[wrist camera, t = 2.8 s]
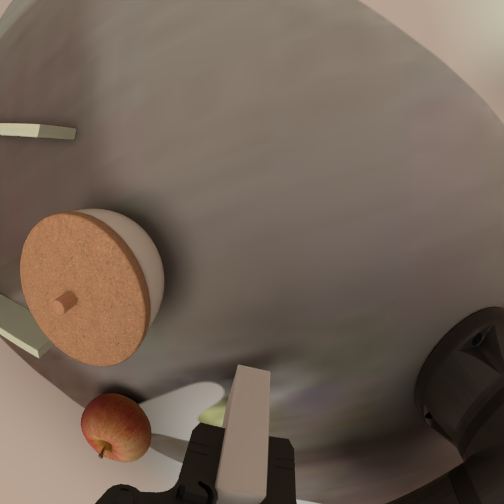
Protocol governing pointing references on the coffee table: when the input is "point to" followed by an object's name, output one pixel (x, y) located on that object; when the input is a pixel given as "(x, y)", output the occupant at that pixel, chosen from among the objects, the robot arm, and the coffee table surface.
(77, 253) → the lidded jar
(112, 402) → the apple
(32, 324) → the bin
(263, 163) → the coffee table surface
